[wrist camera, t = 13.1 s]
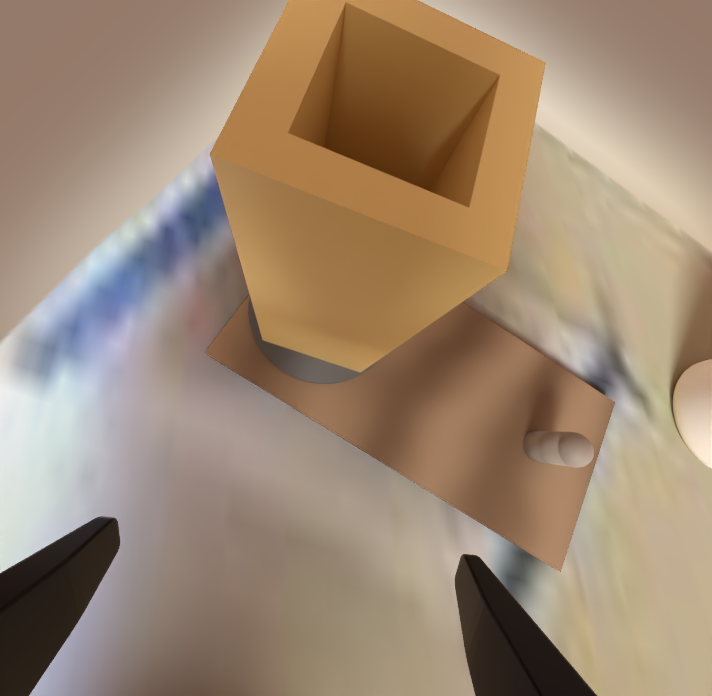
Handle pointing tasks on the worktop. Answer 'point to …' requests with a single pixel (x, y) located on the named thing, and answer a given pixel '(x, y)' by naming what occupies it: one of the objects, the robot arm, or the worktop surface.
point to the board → (452, 419)
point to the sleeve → (374, 172)
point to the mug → (695, 409)
